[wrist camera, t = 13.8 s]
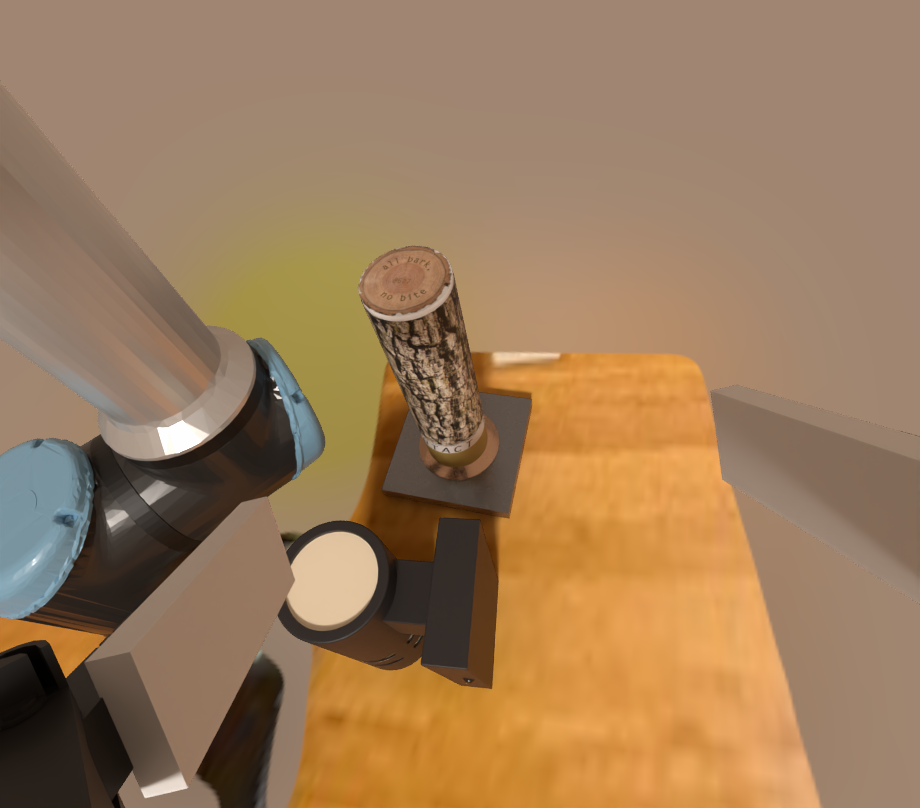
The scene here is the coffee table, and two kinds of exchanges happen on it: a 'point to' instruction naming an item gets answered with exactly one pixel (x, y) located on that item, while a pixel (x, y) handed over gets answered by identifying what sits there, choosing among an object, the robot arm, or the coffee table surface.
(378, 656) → the light fixture
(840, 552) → the robot arm
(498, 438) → the plate
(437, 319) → the paper tube
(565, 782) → the coffee table surface
